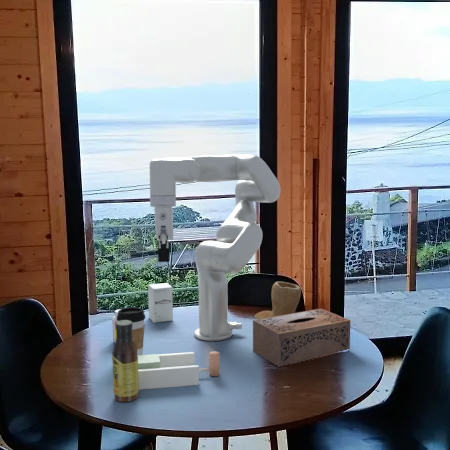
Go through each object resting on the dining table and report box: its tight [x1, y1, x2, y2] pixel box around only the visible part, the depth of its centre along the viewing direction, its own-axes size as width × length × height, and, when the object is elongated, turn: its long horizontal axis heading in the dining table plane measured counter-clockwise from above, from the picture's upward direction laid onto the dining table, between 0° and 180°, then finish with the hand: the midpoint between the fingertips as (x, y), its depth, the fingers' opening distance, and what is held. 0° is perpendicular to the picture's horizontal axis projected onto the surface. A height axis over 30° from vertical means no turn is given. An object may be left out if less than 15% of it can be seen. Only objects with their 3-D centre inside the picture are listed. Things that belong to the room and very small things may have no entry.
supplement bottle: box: [112, 308, 122, 344], centre depth 185 cm, size 6×6×10 cm
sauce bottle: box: [111, 320, 140, 403], centre depth 143 cm, size 7×6×20 cm
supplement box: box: [147, 282, 174, 324], centre depth 208 cm, size 7×7×13 cm
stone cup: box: [254, 281, 302, 320], centre depth 201 cm, size 15×12×15 cm
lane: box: [138, 351, 200, 391], centre depth 155 cm, size 18×11×6 cm, turn 100°
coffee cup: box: [117, 307, 146, 355], centre depth 169 cm, size 8×8×15 cm
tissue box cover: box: [252, 308, 351, 368], centre depth 175 cm, size 26×14×10 cm, turn 118°
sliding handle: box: [137, 350, 221, 377], centre depth 156 cm, size 22×6×6 cm, turn 100°
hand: (163, 258), depth 171 cm, fingers open, 9 cm apart
